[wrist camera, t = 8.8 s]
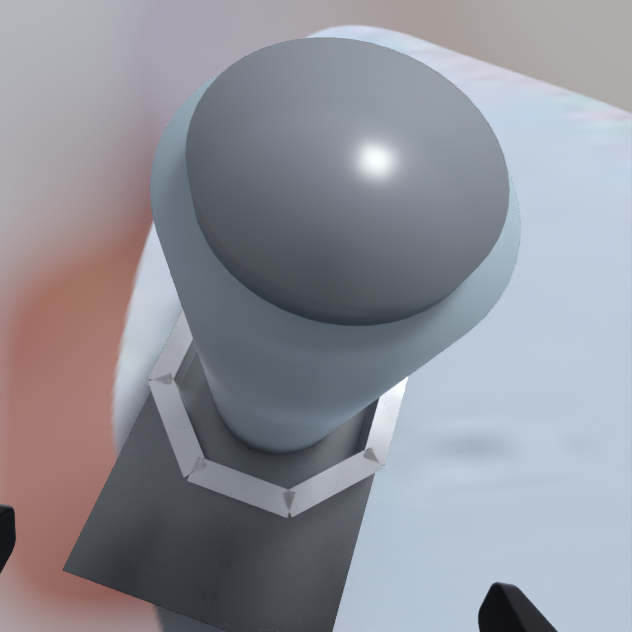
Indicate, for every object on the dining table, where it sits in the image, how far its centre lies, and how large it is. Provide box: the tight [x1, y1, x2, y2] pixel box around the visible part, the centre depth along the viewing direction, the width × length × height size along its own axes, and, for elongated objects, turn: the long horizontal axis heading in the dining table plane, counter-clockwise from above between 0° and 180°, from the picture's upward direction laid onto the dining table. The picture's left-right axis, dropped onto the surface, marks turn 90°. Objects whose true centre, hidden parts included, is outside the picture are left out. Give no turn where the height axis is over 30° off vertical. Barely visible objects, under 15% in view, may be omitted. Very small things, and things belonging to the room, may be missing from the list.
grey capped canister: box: [150, 38, 521, 454], centre depth 12 cm, size 5×5×13 cm
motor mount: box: [63, 310, 408, 632], centre depth 17 cm, size 16×9×4 cm, turn 161°
